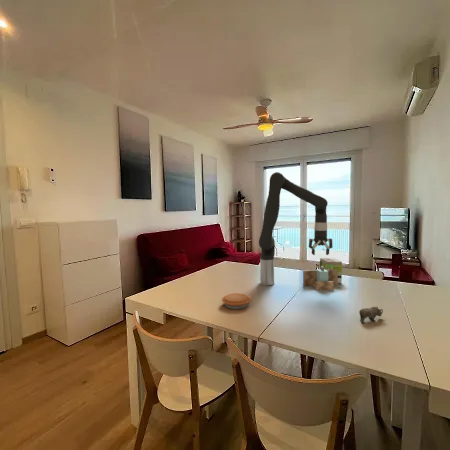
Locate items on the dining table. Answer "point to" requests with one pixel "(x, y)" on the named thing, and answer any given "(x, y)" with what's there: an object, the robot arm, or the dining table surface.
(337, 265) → the tea box
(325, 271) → the tall sage green box
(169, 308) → the dining table surface
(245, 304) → the pie
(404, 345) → the dining table surface
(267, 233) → the robot arm
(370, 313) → the rhino figurine
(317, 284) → the wooden stand
